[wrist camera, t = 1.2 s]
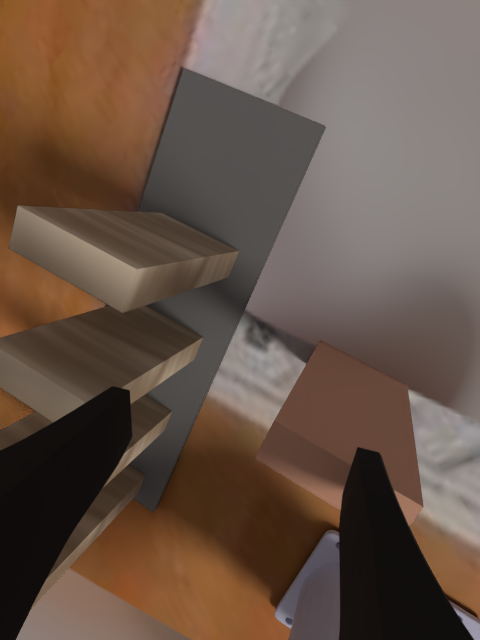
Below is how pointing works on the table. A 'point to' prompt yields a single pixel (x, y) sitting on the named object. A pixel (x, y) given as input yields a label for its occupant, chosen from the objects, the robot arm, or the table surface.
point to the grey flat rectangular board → (218, 231)
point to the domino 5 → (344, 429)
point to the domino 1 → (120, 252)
